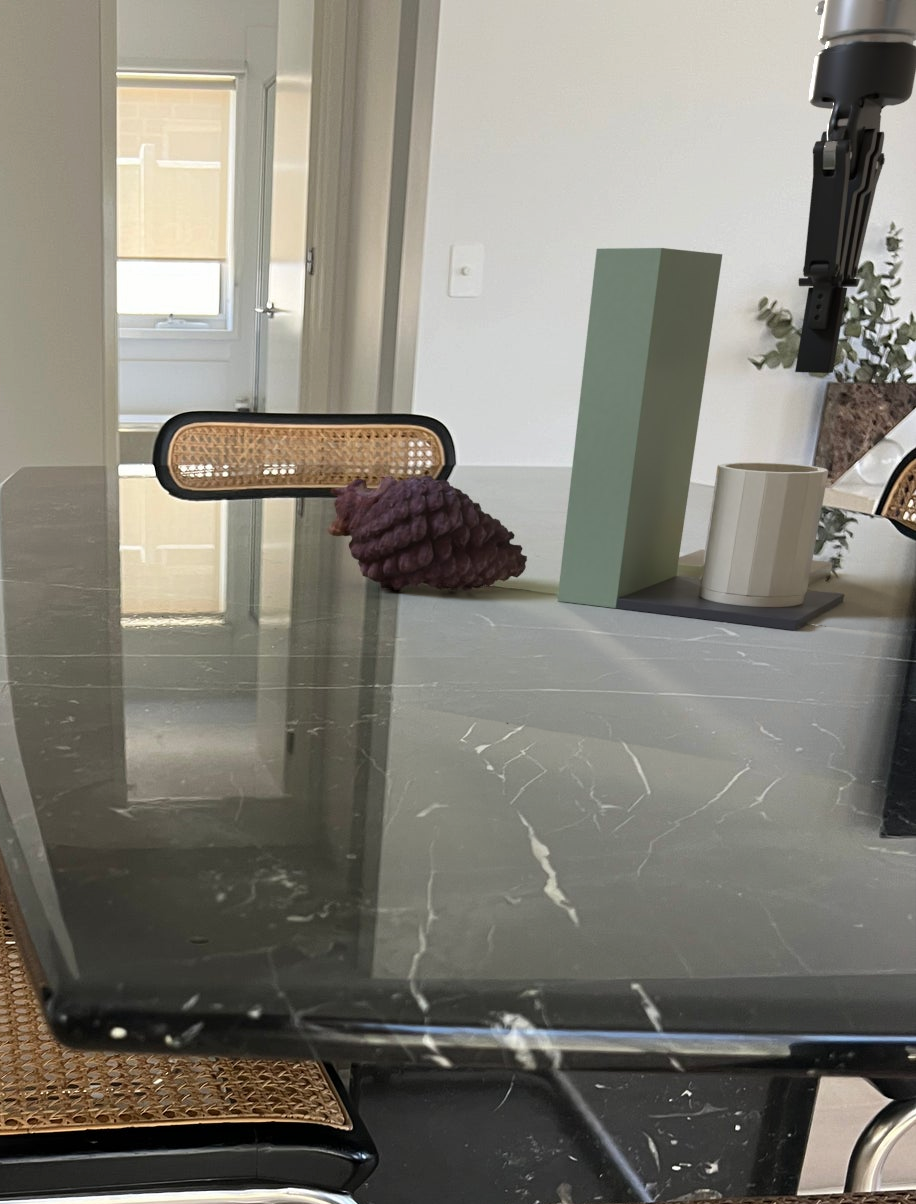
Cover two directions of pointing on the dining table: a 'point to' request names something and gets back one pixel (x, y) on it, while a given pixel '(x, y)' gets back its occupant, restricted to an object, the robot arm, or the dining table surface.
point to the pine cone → (424, 535)
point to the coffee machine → (647, 441)
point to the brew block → (694, 561)
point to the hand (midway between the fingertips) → (814, 372)
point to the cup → (762, 533)
